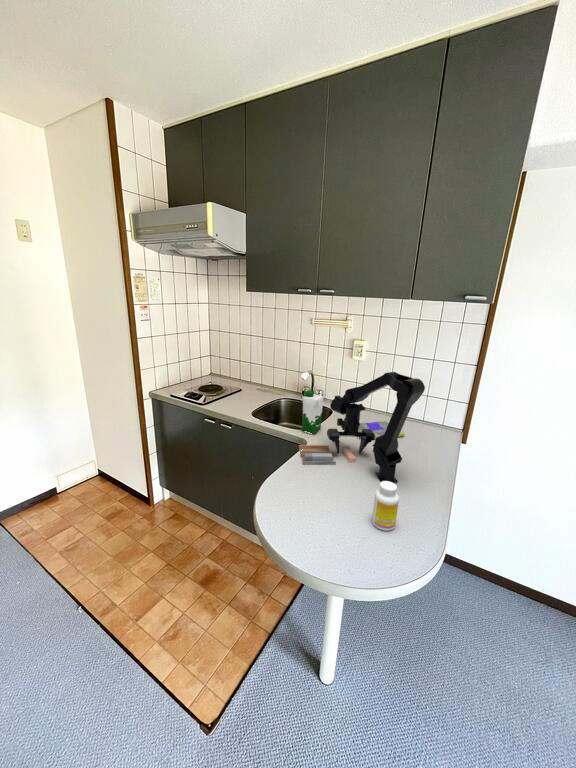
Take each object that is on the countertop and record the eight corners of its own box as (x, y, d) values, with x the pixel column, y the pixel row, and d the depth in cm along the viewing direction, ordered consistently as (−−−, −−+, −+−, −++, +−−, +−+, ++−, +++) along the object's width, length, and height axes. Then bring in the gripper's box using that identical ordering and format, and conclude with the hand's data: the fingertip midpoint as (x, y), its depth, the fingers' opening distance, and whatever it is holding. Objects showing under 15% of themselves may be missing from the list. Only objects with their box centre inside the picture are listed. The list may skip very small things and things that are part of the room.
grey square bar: (330, 459, 127) (331, 453, 127) (332, 462, 125) (332, 456, 124) (304, 458, 126) (304, 453, 126) (304, 462, 124) (305, 456, 123)
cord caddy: (335, 466, 123) (336, 462, 123) (302, 466, 122) (303, 462, 122) (328, 448, 137) (328, 445, 137) (298, 448, 136) (299, 444, 136)
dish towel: (405, 439, 152) (406, 433, 151) (358, 441, 147) (358, 435, 146) (388, 424, 168) (388, 420, 167) (344, 426, 164) (345, 421, 163)
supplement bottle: (398, 531, 89) (404, 492, 86) (376, 532, 89) (381, 492, 85) (389, 515, 96) (394, 478, 92) (368, 516, 95) (373, 479, 92)
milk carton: (306, 426, 161) (308, 388, 155) (323, 430, 156) (325, 391, 151) (298, 432, 153) (300, 392, 148) (315, 436, 149) (318, 396, 144)
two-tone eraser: (354, 463, 126) (355, 458, 125) (348, 463, 125) (349, 458, 125) (347, 450, 136) (348, 445, 136) (342, 450, 136) (342, 445, 135)
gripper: (368, 411, 135) (364, 444, 139) (325, 410, 133) (323, 444, 137) (377, 421, 124) (373, 457, 128) (331, 420, 122) (328, 456, 127)
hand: (348, 453), depth 130 cm, fingers open, 9 cm apart
